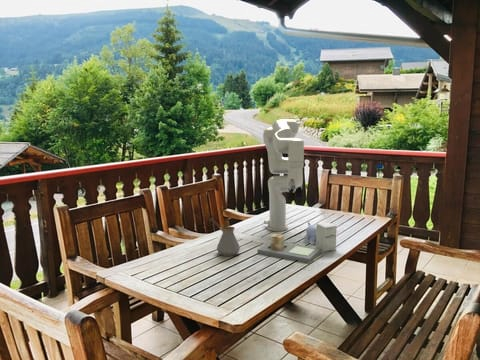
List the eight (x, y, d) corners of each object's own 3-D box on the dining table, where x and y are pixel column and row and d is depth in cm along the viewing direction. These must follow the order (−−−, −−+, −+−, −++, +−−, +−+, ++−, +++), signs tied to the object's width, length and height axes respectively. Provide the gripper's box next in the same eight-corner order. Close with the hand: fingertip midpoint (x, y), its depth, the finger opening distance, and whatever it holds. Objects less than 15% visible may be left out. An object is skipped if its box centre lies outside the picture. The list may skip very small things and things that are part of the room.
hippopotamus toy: (318, 247, 212) (319, 229, 210) (299, 239, 225) (299, 222, 223) (334, 243, 218) (334, 226, 216) (314, 236, 230) (315, 219, 229)
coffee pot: (244, 254, 203) (244, 224, 200) (225, 259, 196) (224, 228, 194) (220, 243, 220) (220, 215, 217) (202, 247, 213) (201, 219, 211)
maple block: (270, 251, 206) (270, 236, 205) (274, 248, 210) (275, 233, 209) (279, 253, 203) (279, 237, 202) (283, 250, 208) (284, 235, 206)
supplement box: (324, 252, 205) (324, 227, 203) (315, 247, 211) (316, 223, 209) (336, 249, 208) (337, 225, 206) (327, 245, 214) (328, 221, 212)
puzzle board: (257, 253, 204) (257, 248, 203) (271, 244, 217) (271, 240, 217) (309, 263, 190) (309, 258, 190) (321, 252, 204) (321, 248, 203)
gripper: (294, 162, 212) (294, 194, 215) (282, 166, 197) (281, 201, 200) (308, 162, 209) (308, 196, 212) (296, 166, 194) (296, 202, 197)
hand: (295, 198), depth 206 cm, fingers open, 9 cm apart
